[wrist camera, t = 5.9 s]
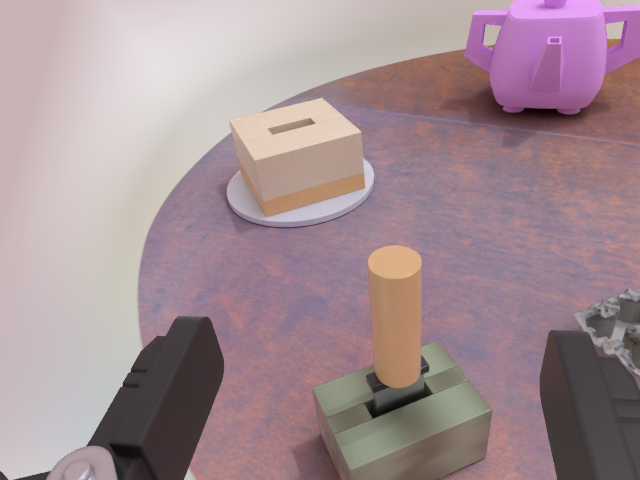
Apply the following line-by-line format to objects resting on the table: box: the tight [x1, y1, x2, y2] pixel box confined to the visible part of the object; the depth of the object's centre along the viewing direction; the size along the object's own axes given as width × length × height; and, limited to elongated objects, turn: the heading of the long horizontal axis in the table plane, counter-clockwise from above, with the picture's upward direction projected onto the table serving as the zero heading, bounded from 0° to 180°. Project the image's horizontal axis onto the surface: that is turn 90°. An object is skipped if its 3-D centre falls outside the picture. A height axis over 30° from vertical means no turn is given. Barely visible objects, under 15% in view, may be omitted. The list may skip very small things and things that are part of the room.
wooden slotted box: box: [230, 98, 365, 217], centre depth 61 cm, size 12×12×7 cm
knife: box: [366, 245, 429, 418], centre depth 30 cm, size 4×3×16 cm
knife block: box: [313, 341, 492, 480], centre depth 33 cm, size 9×6×5 cm, turn 111°
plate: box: [227, 158, 374, 227], centre depth 63 cm, size 18×18×1 cm
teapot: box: [464, 0, 640, 114], centre depth 72 cm, size 19×18×15 cm
